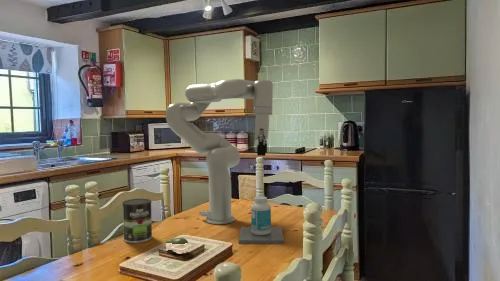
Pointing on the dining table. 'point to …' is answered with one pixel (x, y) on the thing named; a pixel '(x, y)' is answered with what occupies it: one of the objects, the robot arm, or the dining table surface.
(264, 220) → the pill bottle
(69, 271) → the dining table surface
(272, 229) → the plate
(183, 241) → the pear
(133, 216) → the coffee can
